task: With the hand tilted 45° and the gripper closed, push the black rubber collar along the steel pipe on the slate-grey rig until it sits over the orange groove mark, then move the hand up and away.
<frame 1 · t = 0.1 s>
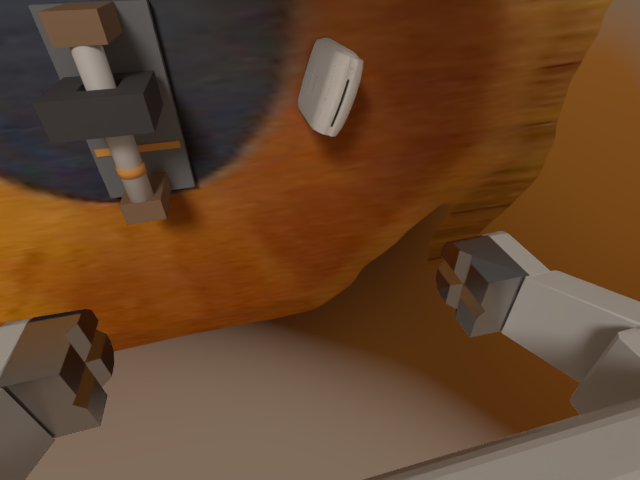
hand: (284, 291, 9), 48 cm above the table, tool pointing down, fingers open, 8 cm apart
photo printer: (317, 75, 52), on the table
pipe rig: (128, 108, 49), on the table
collar: (107, 103, 41), point 8 cm above the table, slide at 0.0 cm
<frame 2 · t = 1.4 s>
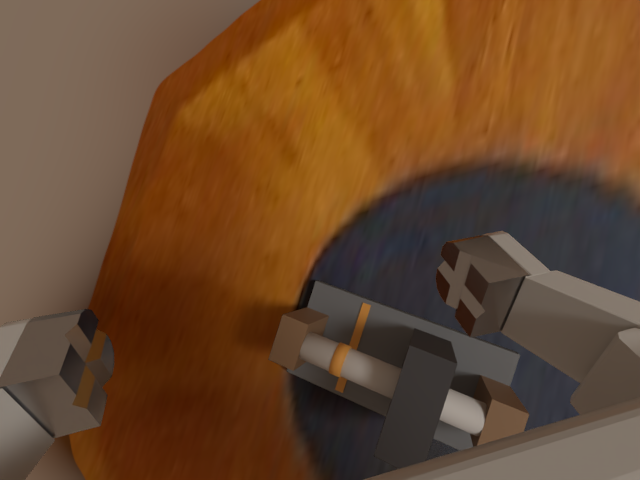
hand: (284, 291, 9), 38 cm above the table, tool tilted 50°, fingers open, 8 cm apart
pipe rig: (394, 360, 44), on the table
collar: (416, 392, 36), point 8 cm above the table, slide at 0.0 cm
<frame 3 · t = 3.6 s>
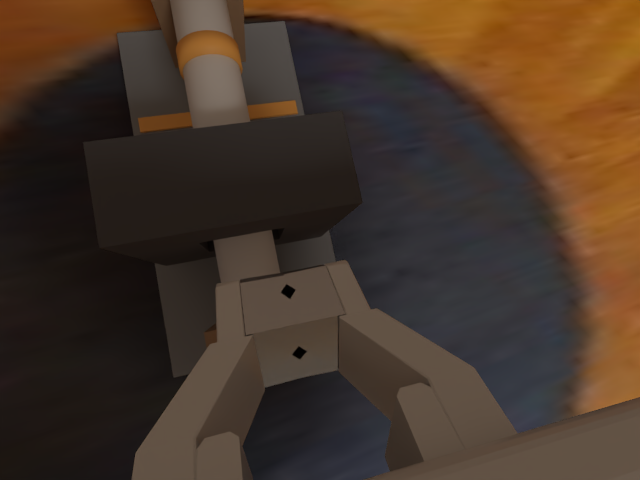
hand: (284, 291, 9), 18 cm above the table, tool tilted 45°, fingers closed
pipe rig: (235, 189, 27), on the table
collar: (236, 203, 19), point 8 cm above the table, slide at 0.0 cm
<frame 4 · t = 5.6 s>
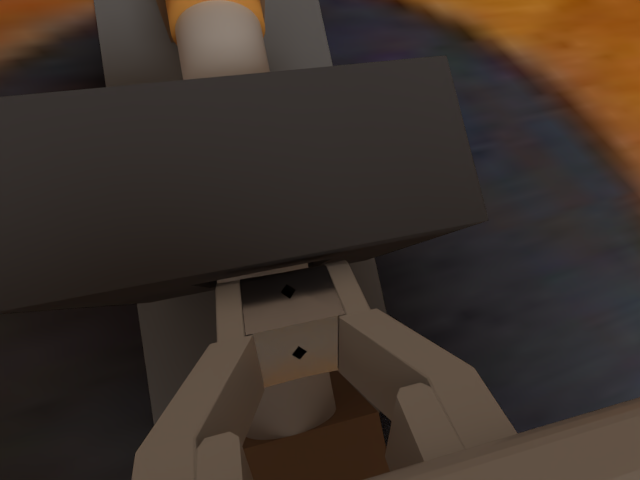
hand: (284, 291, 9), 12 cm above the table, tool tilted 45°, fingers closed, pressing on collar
pipe rig: (248, 204, 20), on the table
collar: (253, 216, 12), point 8 cm above the table, slide at 0.6 cm, touching gripper
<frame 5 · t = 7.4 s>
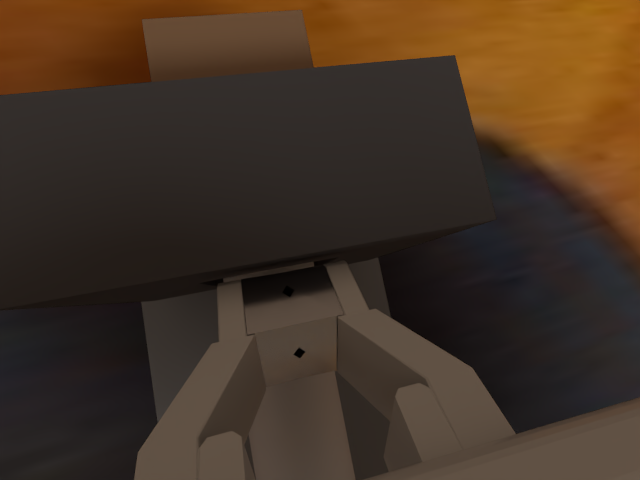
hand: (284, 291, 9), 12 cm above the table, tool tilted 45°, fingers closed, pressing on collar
pipe rig: (278, 350, 20), on the table
collar: (259, 215, 12), point 8 cm above the table, slide at 8.7 cm, touching gripper
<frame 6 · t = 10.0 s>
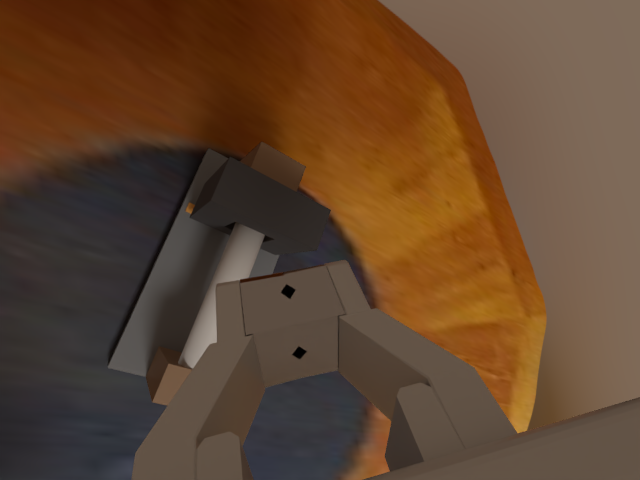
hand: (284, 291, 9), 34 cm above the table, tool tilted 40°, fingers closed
pipe rig: (214, 270, 41), on the table
collar: (256, 214, 35), point 8 cm above the table, slide at 8.8 cm
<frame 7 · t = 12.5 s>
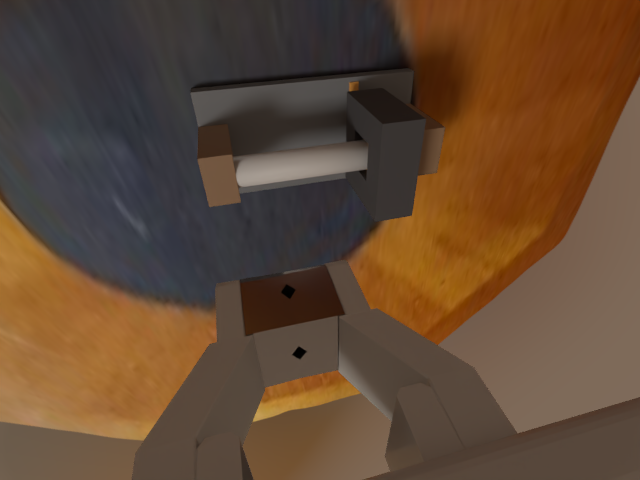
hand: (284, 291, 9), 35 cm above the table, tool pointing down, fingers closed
pipe rig: (308, 131, 43), on the table
collar: (378, 152, 38), point 8 cm above the table, slide at 8.8 cm
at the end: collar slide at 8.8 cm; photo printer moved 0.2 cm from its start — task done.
